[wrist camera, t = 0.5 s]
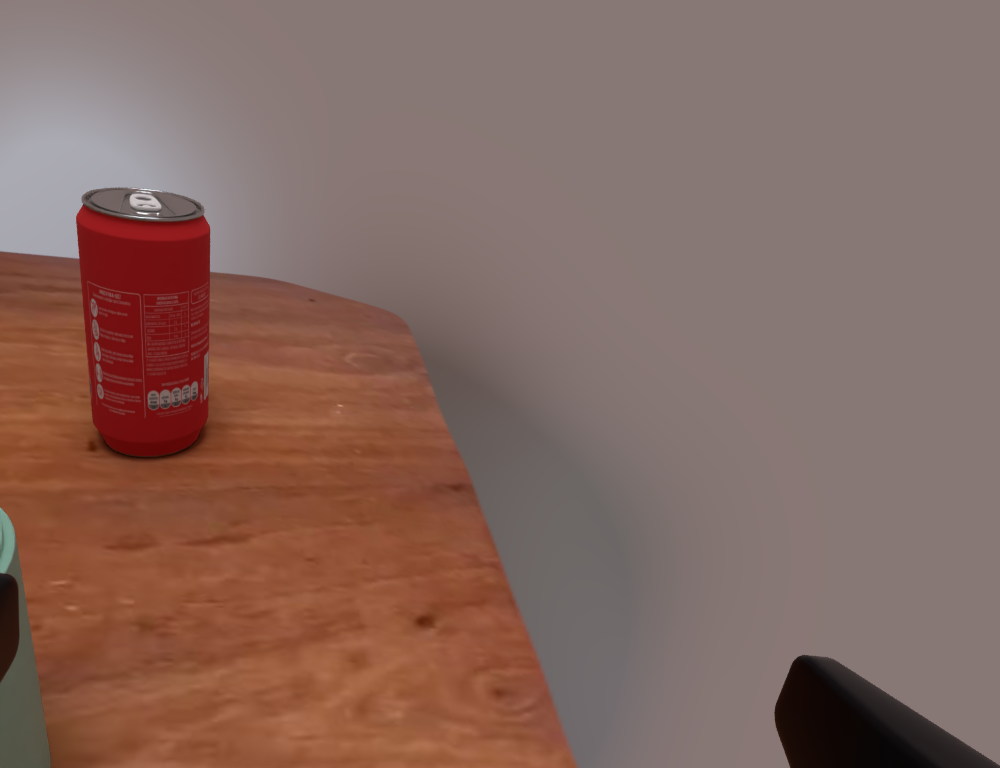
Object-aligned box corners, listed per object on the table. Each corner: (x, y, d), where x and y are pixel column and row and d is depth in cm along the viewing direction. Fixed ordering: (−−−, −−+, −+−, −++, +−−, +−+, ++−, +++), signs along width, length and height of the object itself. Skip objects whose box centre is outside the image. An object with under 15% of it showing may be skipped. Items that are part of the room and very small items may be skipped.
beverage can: (97, 469, 30) (76, 215, 25) (91, 412, 34) (72, 181, 29) (216, 454, 33) (220, 223, 28) (198, 403, 37) (199, 191, 31)
